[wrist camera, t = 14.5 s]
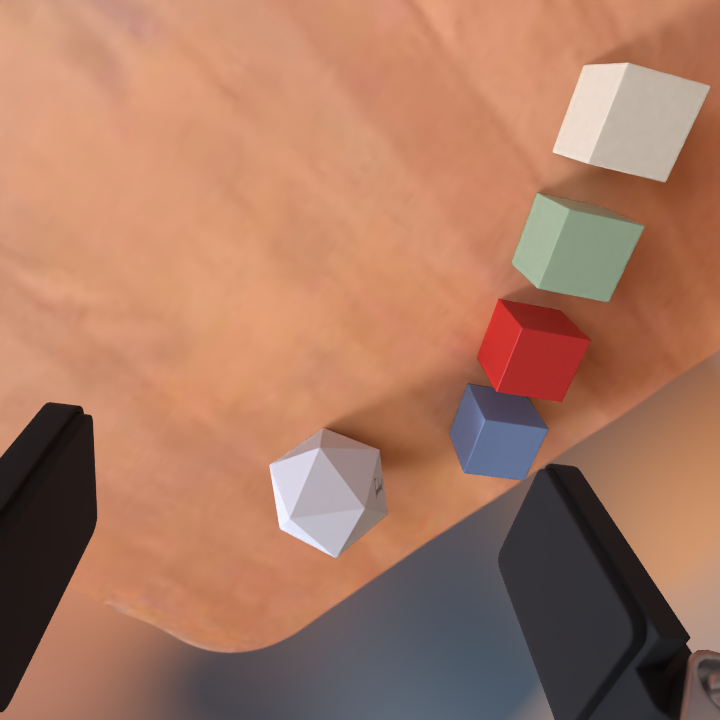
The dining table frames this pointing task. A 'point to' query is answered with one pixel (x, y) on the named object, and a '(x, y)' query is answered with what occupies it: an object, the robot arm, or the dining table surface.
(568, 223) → the sage block
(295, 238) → the dining table surface
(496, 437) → the blue block
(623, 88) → the cream block
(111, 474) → the dining table surface
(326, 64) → the dining table surface
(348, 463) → the die
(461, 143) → the dining table surface
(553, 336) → the red block
